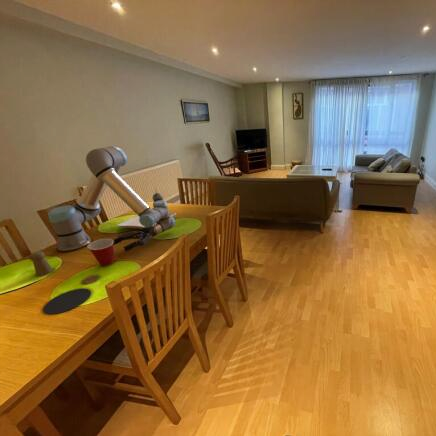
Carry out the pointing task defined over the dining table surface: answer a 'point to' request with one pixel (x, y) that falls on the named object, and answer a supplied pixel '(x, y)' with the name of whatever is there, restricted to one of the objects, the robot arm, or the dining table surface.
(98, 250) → the plastic cup
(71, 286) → the dining table surface
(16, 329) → the dining table surface
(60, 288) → the dining table surface
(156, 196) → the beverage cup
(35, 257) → the pepper shaker
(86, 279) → the cork coaster
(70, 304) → the slate mat
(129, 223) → the square plate
